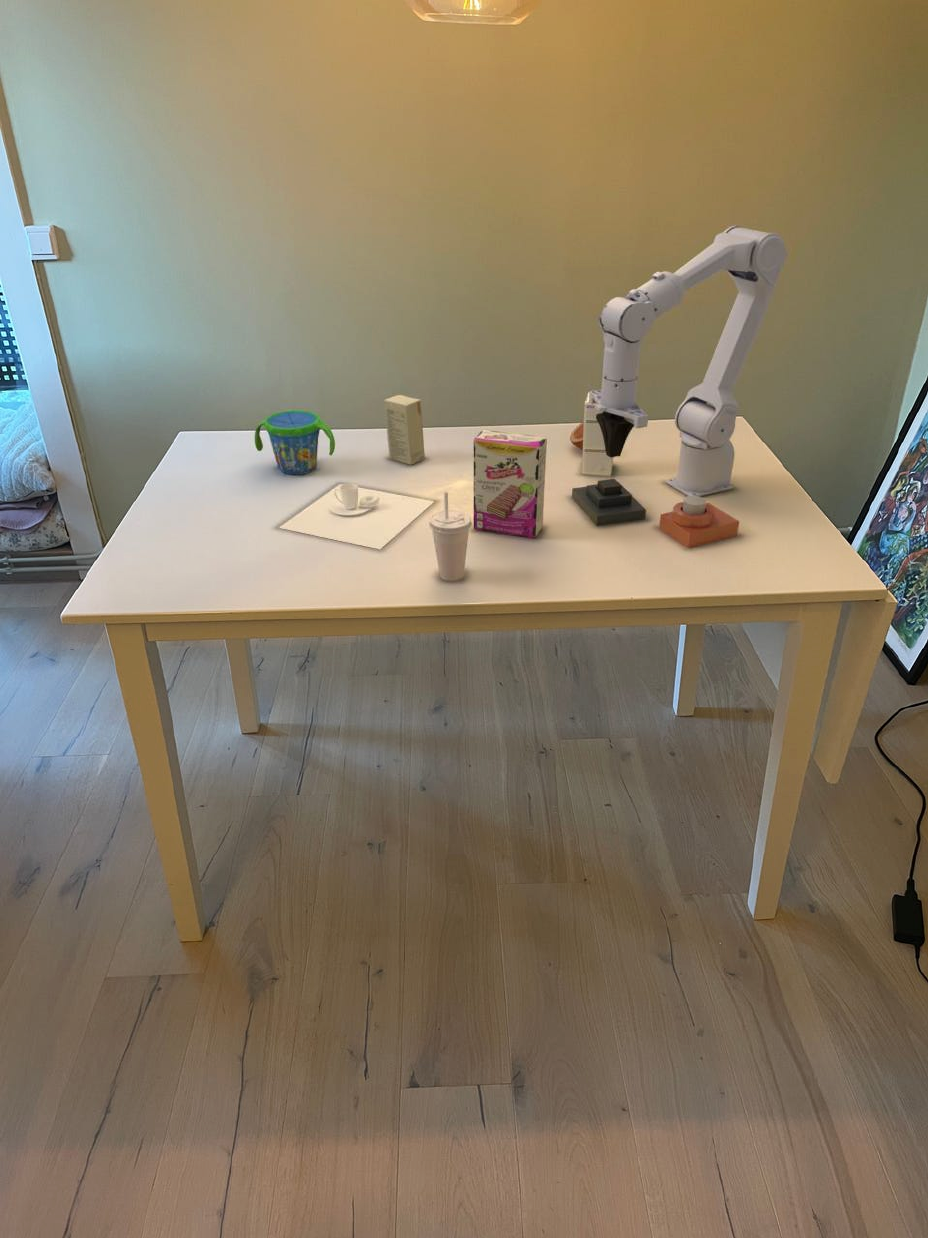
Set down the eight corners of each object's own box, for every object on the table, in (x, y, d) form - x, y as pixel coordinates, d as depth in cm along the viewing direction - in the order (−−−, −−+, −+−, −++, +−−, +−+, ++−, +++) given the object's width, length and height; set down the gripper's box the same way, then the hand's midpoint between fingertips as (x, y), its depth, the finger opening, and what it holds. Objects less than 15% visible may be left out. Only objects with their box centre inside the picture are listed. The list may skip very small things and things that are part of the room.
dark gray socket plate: (617, 491, 160) (619, 474, 158) (645, 519, 150) (647, 501, 148) (571, 497, 158) (572, 479, 156) (596, 526, 148) (598, 507, 146)
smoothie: (430, 566, 137) (426, 484, 130) (470, 563, 138) (469, 482, 130) (432, 586, 132) (429, 502, 125) (474, 584, 132) (473, 500, 125)
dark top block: (613, 487, 154) (614, 478, 153) (620, 494, 152) (621, 485, 151) (596, 489, 153) (597, 480, 153) (603, 497, 151) (604, 487, 150)
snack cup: (345, 462, 174) (340, 412, 168) (324, 482, 165) (318, 431, 160) (274, 455, 178) (267, 406, 172) (249, 475, 169) (241, 424, 164)
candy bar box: (472, 531, 147) (471, 438, 139) (481, 518, 151) (481, 428, 143) (536, 540, 144) (539, 446, 135) (544, 527, 148) (547, 435, 139)
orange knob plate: (706, 516, 151) (710, 492, 148) (737, 535, 145) (741, 511, 142) (658, 528, 147) (661, 504, 145) (687, 548, 141) (691, 523, 139)
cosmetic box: (425, 459, 174) (423, 399, 168) (410, 465, 172) (407, 405, 165) (402, 451, 178) (399, 393, 171) (387, 458, 175) (383, 398, 169)
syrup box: (611, 476, 166) (617, 402, 158) (580, 474, 167) (584, 400, 159) (613, 465, 171) (619, 392, 163) (582, 463, 172) (587, 391, 164)
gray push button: (695, 505, 145) (697, 494, 144) (709, 513, 142) (711, 502, 141) (677, 509, 144) (679, 498, 143) (691, 518, 141) (692, 506, 140)
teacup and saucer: (385, 503, 157) (383, 482, 155) (362, 521, 151) (361, 499, 149) (343, 495, 160) (341, 474, 158) (320, 512, 154) (317, 491, 152)
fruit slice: (605, 457, 174) (607, 433, 171) (572, 457, 174) (573, 433, 171) (599, 441, 181) (601, 418, 178) (567, 442, 181) (568, 419, 178)
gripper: (575, 367, 145) (571, 445, 153) (624, 392, 134) (617, 474, 142) (611, 362, 148) (605, 438, 155) (662, 386, 137) (653, 466, 144)
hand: (613, 455), depth 149 cm, fingers closed
